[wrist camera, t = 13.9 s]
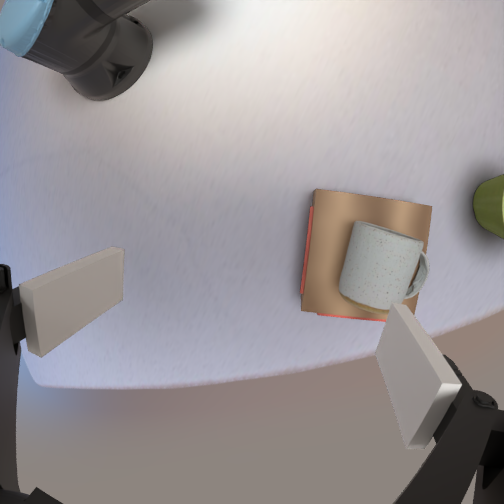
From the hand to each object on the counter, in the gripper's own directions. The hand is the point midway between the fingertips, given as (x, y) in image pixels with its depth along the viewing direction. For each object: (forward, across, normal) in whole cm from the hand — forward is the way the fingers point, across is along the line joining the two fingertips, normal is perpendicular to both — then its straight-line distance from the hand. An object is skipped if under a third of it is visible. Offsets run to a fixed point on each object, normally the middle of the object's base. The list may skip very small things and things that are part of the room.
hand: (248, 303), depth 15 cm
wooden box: (+28, +10, -2) cm, 30 cm away
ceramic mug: (+22, +12, -1) cm, 25 cm away
